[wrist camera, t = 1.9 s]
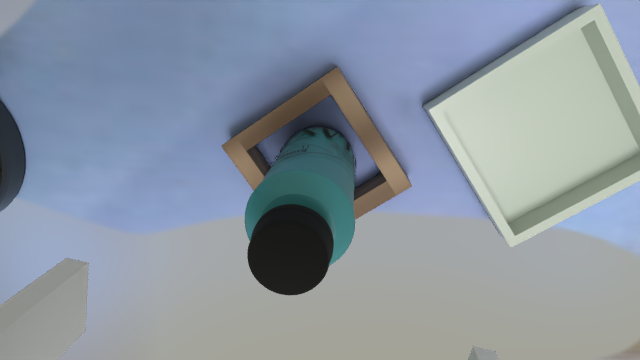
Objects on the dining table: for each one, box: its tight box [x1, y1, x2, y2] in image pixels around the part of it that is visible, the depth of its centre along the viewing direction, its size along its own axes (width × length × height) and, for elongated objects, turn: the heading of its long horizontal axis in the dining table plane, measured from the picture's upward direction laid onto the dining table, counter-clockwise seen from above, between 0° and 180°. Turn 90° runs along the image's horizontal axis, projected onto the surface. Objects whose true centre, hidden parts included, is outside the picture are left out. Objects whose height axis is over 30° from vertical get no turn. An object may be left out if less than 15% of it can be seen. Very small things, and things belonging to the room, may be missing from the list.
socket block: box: [222, 66, 412, 219], centre depth 37 cm, size 12×12×3 cm
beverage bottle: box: [245, 126, 356, 295], centre depth 29 cm, size 6×7×20 cm
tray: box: [423, 4, 640, 247], centre depth 35 cm, size 14×14×3 cm
